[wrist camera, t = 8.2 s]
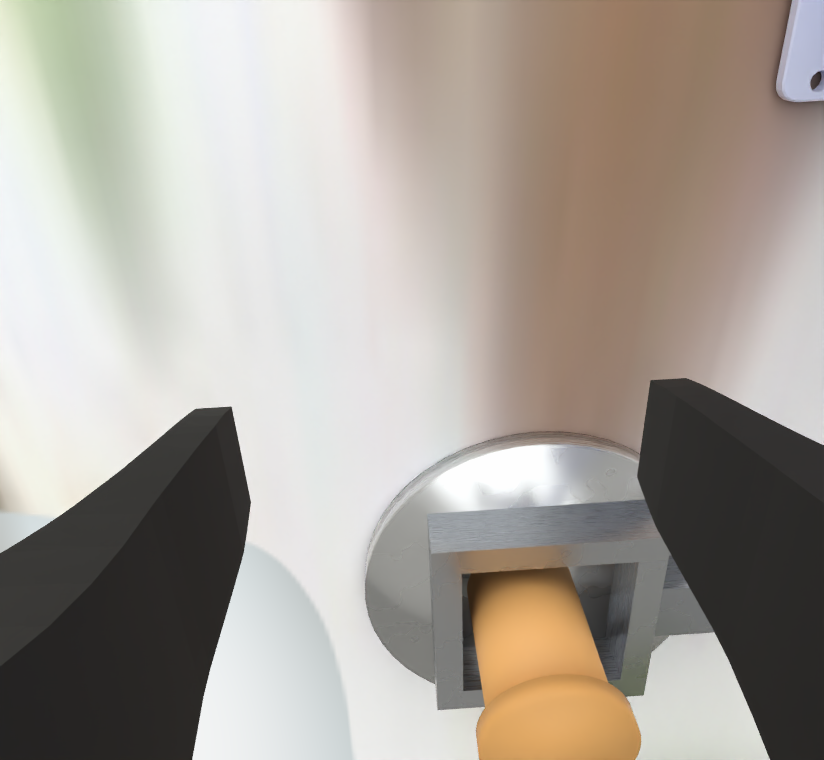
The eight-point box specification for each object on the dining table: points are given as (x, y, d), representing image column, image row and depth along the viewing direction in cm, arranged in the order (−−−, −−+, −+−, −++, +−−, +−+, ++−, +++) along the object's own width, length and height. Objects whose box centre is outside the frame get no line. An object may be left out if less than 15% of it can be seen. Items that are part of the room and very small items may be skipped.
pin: (549, 517, 24) (603, 676, 18) (601, 598, 26) (664, 764, 20) (433, 571, 25) (450, 738, 19) (492, 645, 27) (522, 816, 21)
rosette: (900, 408, 24) (976, 465, 21) (812, 657, 30) (861, 728, 27) (351, 443, 23) (347, 506, 20) (377, 688, 30) (377, 763, 27)
